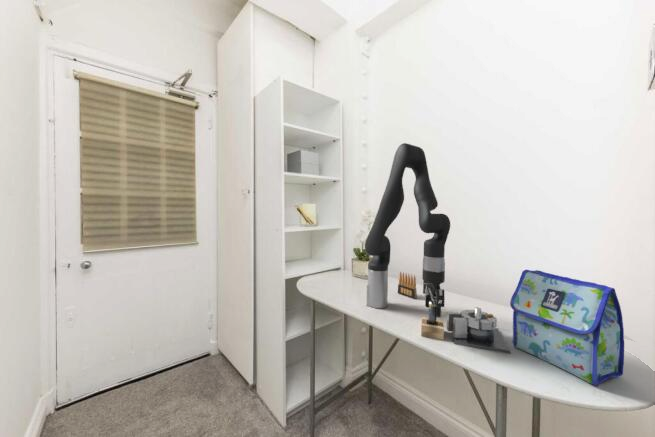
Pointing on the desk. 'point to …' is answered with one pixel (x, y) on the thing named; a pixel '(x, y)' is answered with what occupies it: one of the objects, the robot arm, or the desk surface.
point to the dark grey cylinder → (431, 313)
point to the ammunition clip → (407, 286)
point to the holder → (432, 329)
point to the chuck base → (483, 338)
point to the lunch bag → (569, 324)
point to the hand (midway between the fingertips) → (432, 311)
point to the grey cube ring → (469, 322)
